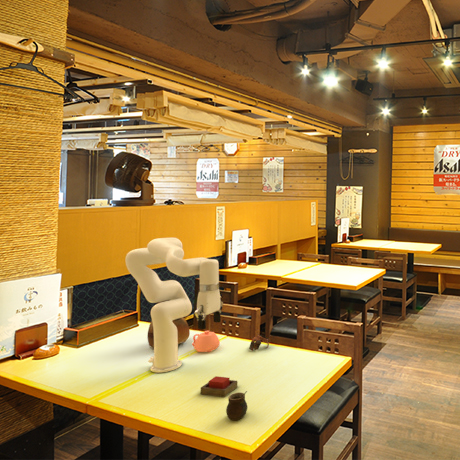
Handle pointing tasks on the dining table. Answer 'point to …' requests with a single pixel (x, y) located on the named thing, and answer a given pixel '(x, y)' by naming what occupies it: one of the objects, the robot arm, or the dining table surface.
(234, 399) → the mate gourd
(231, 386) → the brown shallow rectangular box
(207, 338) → the sugar bowl
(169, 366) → the robot arm
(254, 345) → the pottery mug
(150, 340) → the ceramic pitcher
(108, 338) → the dining table surface
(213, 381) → the red block
